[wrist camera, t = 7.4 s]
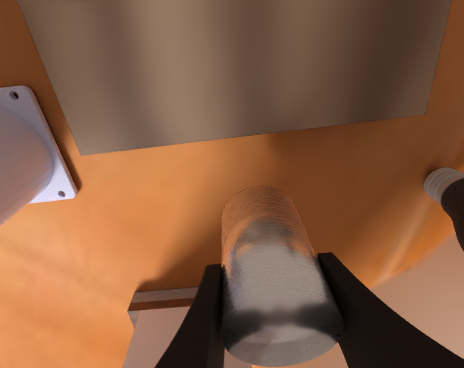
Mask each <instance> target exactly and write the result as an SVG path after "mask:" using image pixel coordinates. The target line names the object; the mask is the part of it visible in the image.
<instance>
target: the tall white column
mask: <svg viewBox="0 0 464 368" xmlns="http://www.w3.org/2000/svg"><path fill="white" fill-rule="evenodd" d="M198 288H199V287H193V288H181V289H169V290H157V291H145V292H134V295H133V298H132V300H131V303H130V306H129V309H128V311H127V312H128V314H129V316H130V319H131V321H132V324H133V326H134V328H135V329H134V332H133V335H132V339H131V342H130V345H129V348H128V351H127V355H126V358H125V361H124V364H123V367H122V368H154V367H155V366H156V364H157V363H158V361H159V360H160V358H161V357H162V355H163V354H164V352H165V351H166V349H167V348H168V346H169V344H170V343H171V341H172V339H173V338H174V336H175V334H176V333H177V331H178V329H179V327H180V326H181V324H182V322H183V320H184V318H185V316H186V314H187V312H188V310H189V308H190V306H191V304H192V302H193V299H194V297H195V295H196V293H197V290H198ZM224 368H252V365H251V364H249V363H246V362H243V361H241V360H239V359H237V358H235V357H234V356H232V355H231V354H230V353H229V352H228V351H227V350H226V349H225V354H224Z"/></svg>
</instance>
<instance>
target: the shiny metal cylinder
mask: <svg viewBox="0 0 464 368" xmlns="http://www.w3.org/2000/svg"><path fill="white" fill-rule="evenodd" d="M343 330H344V322H343V318H342V316H341V314H340V311H339V309H338V307H337V304H336V302H335V299H334V297H333V295H332V292H331V290H330V287H329V285H328V283H327V280H326V278H325V276H324V273H323V271H322V268H321V266H320V264H319V261H318V259H317V257H316V254H315V252H314V249H313V247H312V245H311V242H310V240H309V238H308V235H307V233H306V230H305V228H304V226H303V223H302V221H301V219H300V216H299V214H298V211H297V209H296V207H295V204H294V202H293V201H292V199H291V198H290V197H289V196H288V195H287V194H286V193H284V192H282V191H280V190H278V189H275V188H272V187H264V186H260V187H252V188H248V189H245V190H243V191H241V192H239V193H237V194H236V195H235V196H233V197H232V198H231V199H230V200H229V201H228V203H227V204H226V206H225V207H224V210H223V213H222V342H223V345H224V347H225V349H226V350H227V351H228V352H229V353H230V354H231V355H232V356H234V357H235V358H237V359H239V360H241V361H243V362H246V363H249V364H253V365H259V366H268V367H272V366H273V367H278V366H289V365H294V364H299V363H303V362H306V361H309V360H312V359H314V358H316V357H318V356H320V355H322V354H324V353H325V352H327V351H328V350H330V349H331V348H332V347H333V346H334V345H335V344H336V343H337V342H338V341H339V339H340V338H341V336H342V334H343Z"/></svg>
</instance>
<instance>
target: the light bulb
mask: <svg viewBox="0 0 464 368" xmlns="http://www.w3.org/2000/svg"><path fill="white" fill-rule="evenodd" d="M424 190H425V192H426V193H427V194H428V195H429V196H430V197H431V198H433V199H434V200H436V201H437V202H438V203H440V204H441V205H442V207H443V210H444V211H445V212H446V213H447V214H448V215H449V216H450V217H451V219H452V221H453V225H454V228H455V232H456V236H457V239H458V242H459V244H460V246H461V248H462V249H463V251H464V173H462V172H460V171H457V170H455V169H452V168H449V167H444V168H440V169H437V170H435V171H433V172H432V173H430V174H429V175H428V177H427V178H426V180H425V182H424Z"/></svg>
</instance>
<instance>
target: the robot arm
mask: <svg viewBox="0 0 464 368" xmlns="http://www.w3.org/2000/svg"><path fill="white" fill-rule="evenodd" d="M14 92H16V93H17V94H18V97H19V98H16V97H15V96H14ZM61 191H63V192H64V193H65V194H63V193H62V192H61ZM77 193H78V191H77V188H76V186H75V184H74V182H73V180H72V177H71V175H70V173H69V171H68V168H67V166H66V164H65V162H64V160H63V157H62V155H61V153H60V151H59V148H58V146H57V144H56V142H55V140H54V137H53V135H52V133H51V131H50V128H49V126H48V124H47V122H46V120H45V117H44V115H43V113H42V111H41V108H40V106H39V104H38V102H37V100H36V97H35V95H34V93H33V91H32V90H31V89H30V88H29V87H27V86H25V85H19V86H11V87H4V88H0V226H1V225H2V224H3V223H4V222H6V221H7V220H8V219H9V218H11V217H12V216H13V215H14V214H16V213H17V212H18V211H19V210H21V209H22V208H23V207H24V206H26V205H27V204H29V203H38V202H47V201H55V200H64V199H72V198H74V197H75V196H76V195H77ZM318 261H319V264H320V266H321V268H322V271H323V273H324V276H325V278H326V280H327V283H328V285H329V287H330V290H331V292H332V295H333V297H334V299H335V302H336V304H337V307H338V309H339V311H340V314H341V316H342V318H343V322H344V330H343V334H342V336H341V338H340V339H339V341H338V343H339V345H340V347H341V350H342V352H343V354H344V357H345V359H346V362H347V365H348V367H349V368H464V359H462V358H461V357H459V356H458V355H456V354H454V353H453V352H451V351H450V350H448V349H446V348H445V347H444V346H442V345H440V344H439V343H438V342H436V341H434V340H433V339H431V338H430V337H428V336H427V335H425V334H424V333H422V332H421V331H420V330H418V329H417V328H415V327H414V326H413V325H411V324H410V323H409V322H407V321H406V320H405V319H404V318H402V317H401V316H400V315H398V314H397V313H396V312H394V311H393V310H392V309H391V308H390V307H388V306H387V305H386V304H385V303H384V302H382V301H381V300H380V299H379V298H378V297H377V296H376V295H374V294H373V293H372V292H371V291H370V290H369V289H368V288H367V287H366V286H365V285H364V284H363V283H361V282H360V281H359V280H358V279H357V278H356V277H355V276H354V275H353V274H352V273H351V272H350V271H349V270H348V269H347V268H346V267H345V266H344V265H343V264H342V263H341V262H340V261H339V260H338V258H337V257H336V256H335V255H334V254H333V253H331V252H328V253H318ZM224 354H225V347H224V345H223V342H222V270H221V264H213V265H207V266H206V268H205V271H204V274H203V277H202V280H201V283H200V285H199V288H198V290H197V293H196V295H195V297H194V299H193V302H192V304H191V306H190V308H189V310H188V312H187V314H186V316H185V318H184V320H183V322H182V324H181V326H180V327H179V329H178V331H177V333H176V334H175V336H174V338H173V339H172V341H171V343H170V344H169V346H168V348H167V349H166V351H165V352H164V354H163V355H162V357H161V358H160V360H159V361H158V363H157V364H156V366H155V367H154V368H224Z"/></svg>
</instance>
